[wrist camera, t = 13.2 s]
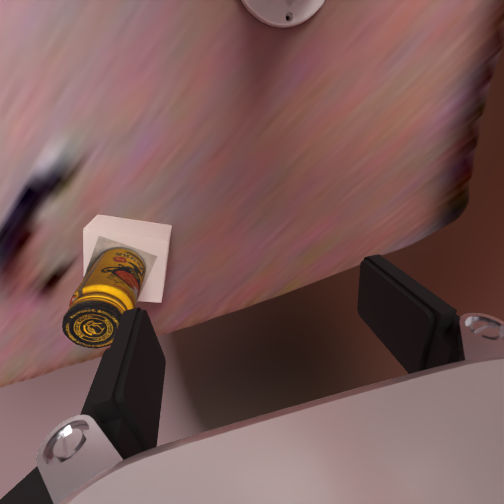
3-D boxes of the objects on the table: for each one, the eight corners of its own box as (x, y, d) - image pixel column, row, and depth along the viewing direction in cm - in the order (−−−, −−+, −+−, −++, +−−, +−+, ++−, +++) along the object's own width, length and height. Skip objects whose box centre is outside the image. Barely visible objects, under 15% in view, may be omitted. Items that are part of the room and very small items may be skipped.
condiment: (157, 255, 36) (142, 312, 25) (135, 304, 38) (113, 374, 28) (99, 234, 33) (55, 288, 22) (80, 288, 36) (32, 359, 25)
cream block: (98, 213, 38) (83, 229, 32) (172, 224, 40) (169, 240, 35) (97, 274, 41) (84, 297, 36) (165, 280, 44) (161, 302, 39)
